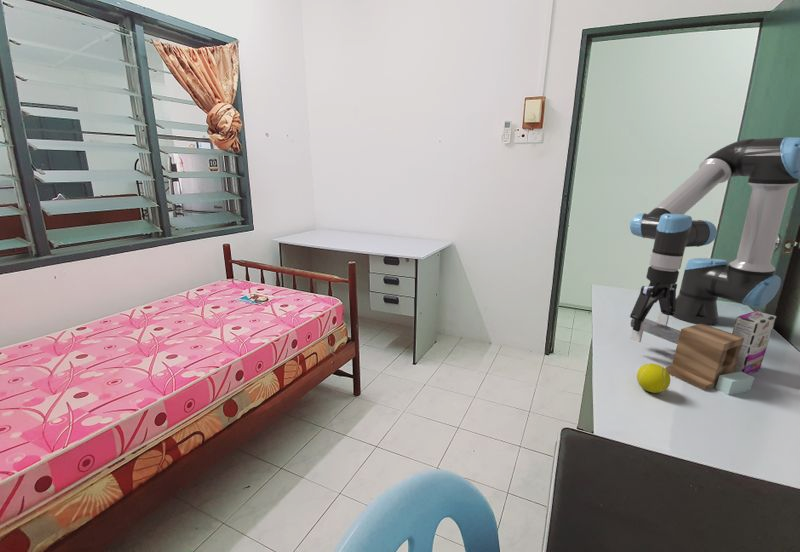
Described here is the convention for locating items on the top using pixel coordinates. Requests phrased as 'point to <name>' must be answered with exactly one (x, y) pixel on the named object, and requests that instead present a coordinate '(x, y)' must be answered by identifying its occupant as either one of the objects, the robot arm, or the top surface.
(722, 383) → the block
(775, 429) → the top surface
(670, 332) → the shaft
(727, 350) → the bearing block
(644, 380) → the tennis ball
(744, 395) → the top surface
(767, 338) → the candy bar box
